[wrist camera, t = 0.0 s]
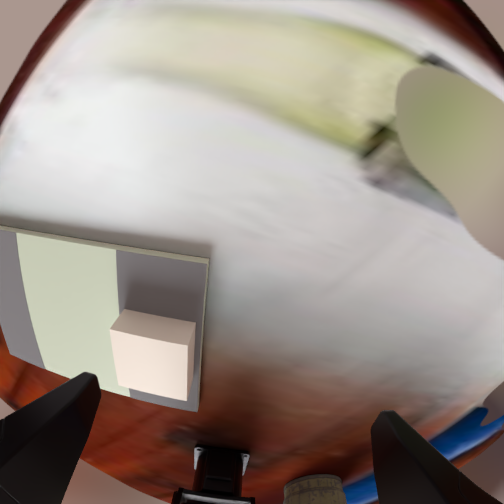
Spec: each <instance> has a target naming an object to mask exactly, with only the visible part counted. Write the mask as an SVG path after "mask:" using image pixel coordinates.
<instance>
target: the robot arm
mask: <svg viewBox="0 0 504 504" xmlns="http://www.w3.org/2000/svg"><path fill="white" fill-rule="evenodd" d="M100 399H101V389H100V385H99V381H98V378H97V376H96V375H95V374H93V373H89V372H82V373H81V374H79V375H77V376H76V377H74V378H72V379H71V380H69V381H67V382H65V383H64V384H62V385H60V386H59V387H57V388H55V389H53V390H52V391H50V392H48V393H47V394H45V395H43V396H41V397H40V398H38V399H36V400H34V401H33V402H31V403H29V404H27V405H26V406H24V407H22V408H21V409H19V410H17V411H15V412H14V413H12V414H10V415H8V416H6V417H5V418H4V419H1V420H0V504H61V503H62V500H63V497H64V495H65V492H66V490H67V487H68V485H69V482H70V479H71V477H72V475H73V472H74V470H75V467H76V465H77V462H78V460H79V458H80V455H81V453H82V451H83V448H84V446H85V444H86V441H87V439H88V437H89V434H90V431H91V427H92V424H93V421H94V418H95V414H96V411H97V408H98V405H99V402H100ZM371 440H372V453H373V468H374V475H375V481H376V487H377V493H378V499H379V504H503V503H501V502H500V501H498V500H497V499H495V498H494V497H492V496H491V495H489V494H488V493H486V492H485V491H484V490H482V489H481V488H480V487H478V486H477V485H476V484H475V483H473V482H472V481H471V480H470V479H469V478H467V477H466V476H465V475H464V474H463V473H462V472H459V470H458V469H457V468H456V467H455V466H454V465H453V464H452V463H451V462H450V461H448V460H447V459H446V458H445V457H444V456H443V455H442V454H441V453H440V452H439V451H437V450H436V449H435V448H434V447H433V446H432V445H431V444H430V443H429V442H428V441H427V440H425V439H424V438H423V437H422V436H421V435H420V434H419V433H418V432H417V431H416V430H415V429H413V428H412V427H411V426H410V425H409V424H408V423H407V422H406V421H405V420H404V419H403V418H402V417H401V416H399V415H398V414H397V413H396V412H395V411H394V410H384V411H382V412H380V414H379V415H378V417H377V419H376V420H375V422H374V423H373V425H372V427H371ZM248 459H249V452H246V451H237V450H229V449H221V448H214V447H208V446H201V445H196V446H195V458H194V469H195V470H196V472H195V477H194V483H193V488H192V490H187V489H184V488H180V487H179V490H178V491H176V492H174V494H173V499H172V503H171V504H255V497H250V498H248V497H241V492H242V477H243V475H244V472H245V469H246V466H247V462H248Z"/></svg>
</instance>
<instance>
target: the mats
mask: <svg viewBox="0 0 504 504" xmlns="http://www.w3.org/2000/svg"><path fill="white" fill-rule="evenodd" d="M116 267H117V288H118V303H119V315H120V314H121V313H122V311H123V310H124V309H127V310H132V311H137V312H142V313H147V314H152V315H157V316H162V317H167V318H173V319H178V320H184V321H190V322H196V329H195V348H194V371H193V380H192V384H191V388H190V391H189V395H188V399H187V401H183V400H178V399H173V398H169V397H164V396H159V395H155V394H151V393H146V392H142V391H138V390H134V389H130V388H129V392H130V397H131V398H134V399H138V400H142V401H146V402H150V403H155V404H159V405H164V406H168V407H173V408H178V409H183V410H188V411H194V412H197V409H198V387H199V367H200V350H201V335H202V321H203V307H204V295H205V283H206V271H207V264H204V263H198V262H191V261H184V260H178V259H171V258H165V257H158V256H152V255H146V254H139V253H133V252H127V251H121V250H116ZM0 324H1V328H2V331H3V334H4V337H5V340H6V343H7V346H8V349H9V352H10V354H11V355H14V356H16V357H18V358H20V359H22V360H25V361H27V362H29V363H31V364H34V365H36V366H39V367H41V368H43V369H45V366H44V363H43V360H42V357H41V354H40V350H39V347H38V344H37V340H36V337H35V333H34V329H33V326H32V322H31V318H30V313H29V309H28V305H27V300H26V295H25V290H24V285H23V280H22V274H21V268H20V261H19V254H18V246H17V237H16V232H10V231H5V230H0Z"/></svg>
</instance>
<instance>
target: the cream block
mask: <svg viewBox="0 0 504 504" xmlns="http://www.w3.org/2000/svg"><path fill="white" fill-rule="evenodd" d="M195 329H196V322H190V321H184V320H178V319H173V318H167V317H162V316H157V315H152V314H147V313H142V312H137V311H132V310H127V309H124V310H123V311H122V313H121V314H120V315H119V317H118V318H117V319H116V321H115V322H114V324H113V325H112V326H111V328H110V337H111V344H112V351H113V357H114V363H115V369H116V375H117V380H118V385H119V386H123V387H127V388H130V389H134V390H138V391H142V392H146V393H151V394H155V395H159V396H164V397H169V398H173V399H178V400H183V401H187V399H188V395H189V391H190V388H191V384H192V380H193V371H194V348H195Z"/></svg>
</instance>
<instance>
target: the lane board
mask: <svg viewBox="0 0 504 504" xmlns="http://www.w3.org/2000/svg"><path fill="white" fill-rule="evenodd" d="M0 230H5V231H10V232H16V237H17V246H18V254H19V261H20V268H21V274H22V280H23V285H24V290H25V295H26V300H27V305H28V309H29V313H30V318H31V322H32V326H33V329H34V333H35V337H36V340H37V344H38V347H39V350H40V354H41V357H42V360H43V363H44V366H45V369H47V370H49V371H52V372H54V373H57V374H60V375H62V376H65V377H68V378H71V379H72V378H74V377H76V376H77V375H79V374H81V373H82V372H89V373H93V374H95V375H96V376H97V378H98V381H99V385H100V389H104V390H107V391H110V392H114V393H117V394H121V395H124V396H128V397H130V392H129V388H127V387H123V386H119V385H118V380H117V375H116V369H115V363H114V357H113V351H112V344H111V337H110V328H111V326H112V325H113V324H114V322H115V321H116V319H117V318H118V317H119V303H118V288H117V267H116V250H121V251H127V252H133V253H139V254H146V255H152V256H158V257H165V258H171V259H178V260H184V261H191V262H198V263H204V264H207V271H206V283H205V295H204V307H203V321H202V335H201V350H200V367H199V387H198V407H199V393H200V375H201V358H202V343H203V329H204V315H205V303H206V291H207V280H208V269H209V259H208V258H201V257H194V256H188V255H181V254H174V253H168V252H161V251H155V250H148V249H142V248H135V247H129V246H122V245H116V244H110V243H103V242H97V241H91V240H85V239H78V238H72V237H66V236H60V235H54V234H48V233H42V232H36V231H30V230H24V229H18V228H12V227H6V226H1V225H0ZM197 411H198V409H197Z"/></svg>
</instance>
